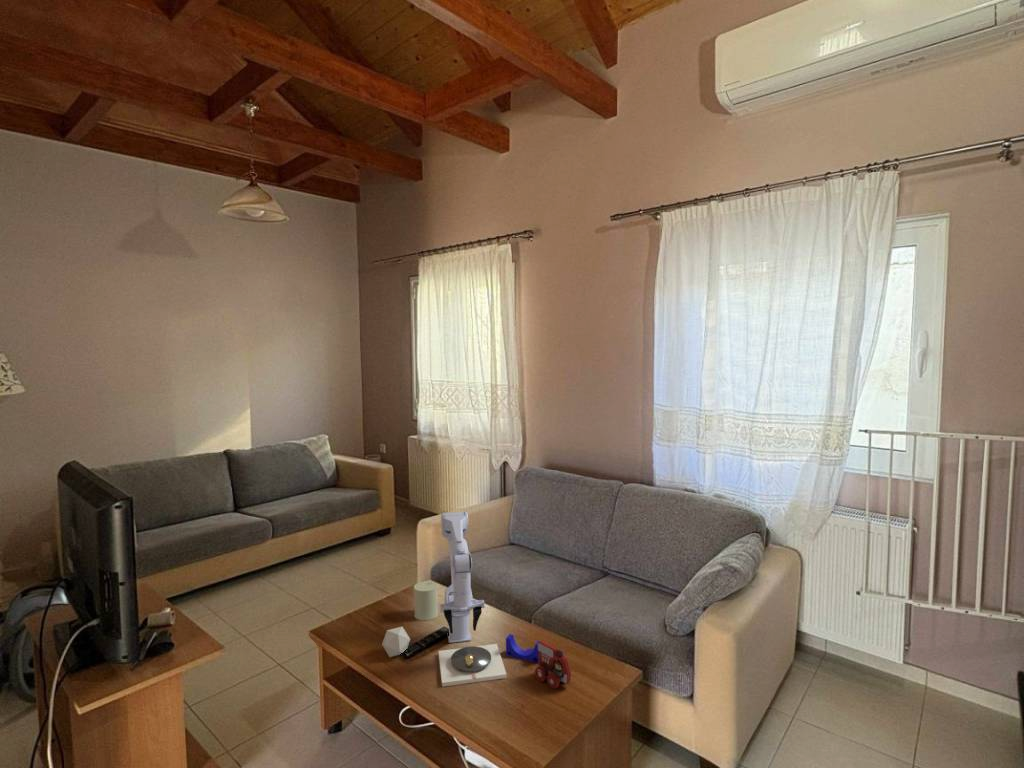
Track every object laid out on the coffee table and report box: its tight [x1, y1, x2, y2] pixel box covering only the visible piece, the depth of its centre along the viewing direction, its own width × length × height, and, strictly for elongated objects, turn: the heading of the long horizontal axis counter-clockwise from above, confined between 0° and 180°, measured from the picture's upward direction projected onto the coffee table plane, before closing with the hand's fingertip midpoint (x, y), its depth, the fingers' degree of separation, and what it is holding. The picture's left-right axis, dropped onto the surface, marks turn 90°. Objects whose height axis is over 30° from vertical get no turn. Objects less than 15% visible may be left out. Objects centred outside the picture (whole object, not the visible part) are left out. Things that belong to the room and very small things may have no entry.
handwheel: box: [451, 645, 491, 672], centre depth 172 cm, size 13×13×4 cm
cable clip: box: [505, 633, 541, 664], centre depth 178 cm, size 12×4×6 cm, turn 66°
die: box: [381, 626, 411, 658], centre depth 180 cm, size 8×9×10 cm
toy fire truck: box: [534, 640, 572, 689], centre depth 164 cm, size 7×12×10 cm, turn 44°
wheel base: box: [438, 643, 508, 688], centre depth 172 cm, size 18×20×2 cm
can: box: [413, 580, 439, 621], centre depth 207 cm, size 9×9×12 cm
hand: (462, 630), depth 176 cm, fingers open, 7 cm apart
